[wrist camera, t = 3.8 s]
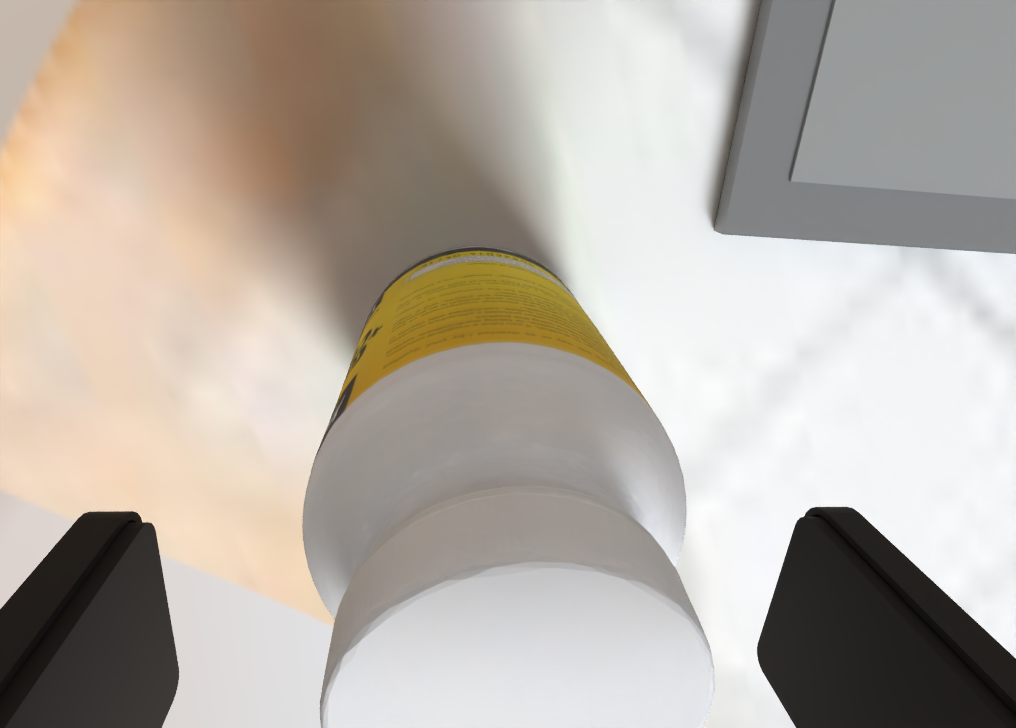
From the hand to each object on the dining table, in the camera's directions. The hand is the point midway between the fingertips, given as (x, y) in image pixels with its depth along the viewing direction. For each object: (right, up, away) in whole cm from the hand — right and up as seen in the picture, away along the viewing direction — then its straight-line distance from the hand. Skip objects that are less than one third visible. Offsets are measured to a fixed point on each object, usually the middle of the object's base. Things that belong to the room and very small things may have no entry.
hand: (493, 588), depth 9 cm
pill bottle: (-1, +4, +9) cm, 10 cm away
